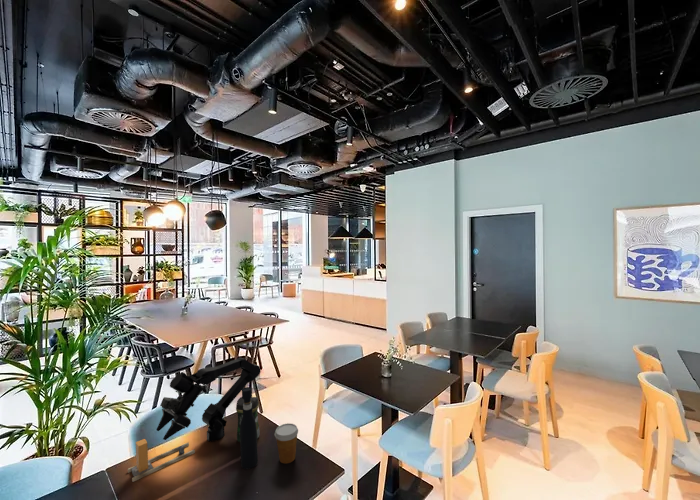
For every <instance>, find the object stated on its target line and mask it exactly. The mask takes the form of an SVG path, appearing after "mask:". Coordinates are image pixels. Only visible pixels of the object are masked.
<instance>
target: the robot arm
mask: <svg viewBox="0 0 700 500" xmlns="http://www.w3.org/2000/svg"><path fill="white" fill-rule="evenodd" d="M238 369H241V373H240V376H239V378H237V380H236V381H234V383H233V384H232V385H231V387H230V388H229V389H228V390H227V391H226V392H225V394H224V395H223V396H222V397H221V398H220V399H219V400H218V402H216V403H212V402H211V403H210V404H209V405H208V406H207V407H206V408H205V409H204V410H203V411H204V412H203V413H202V415H201V420H202V422H203V424H205V425H207V431H206V440H207V441H208V442H215V441H218V440H220V439H222V438H223V437H224V436H225V427H226V426H227V423H228V421H227V420H225V419H224V416H225V414H226V411H227V409H228V407H229V406H231V404H232V402H233V401H234V400H235V399H236V398H237V397H238V396H239V395H240V393H242V389H243V388H246V386H247V385H248V384H249V383H251V382H252V381H255V379H257V378H258V377H259V375H261V366H260V365H257V364H255V363H251V362H250V361H248V360H247V359H245V358H242V357H237V358H235V359H233V360H230V361H227V362H225V363H222V364H219V365H217V366H213V367H211V366H210V367H205V368H204V367H203V368H199V369H197V370H196V371H195V372H194V373H192V374H190V375H188V374H187V373H185V372H183V371H181V372H180V373H179V374H177V375H176V376H175V377H173V378H171V381H170V383H169V387H170V388H171V389H172V390H174V391H176V392H178V393H180V394H182V395H178V396H177V398H174V397H165V396H164V397H162V399H161V402H160V407H161V410H162V415H161V418H160V421H159V423H158V426H157V428H156V431H157V432H159V431H160V430H162V429H163V428H164V427H166V425H168V424H169V423H171V424H170V426H169V428H168V429H167V431H166V432H165V434H164V436H163V438H162V440H164V441H166V440H168V439H169V438H170V437H172V436H173V435H176V433H178V432H180V431H181V430H183V429H184V430H185V429H186V428H187V429H188V428H189V427H190V425H191V424H192V422H191V421H192V420H191V418H189V417H188V416H187V415H188V413H187V412H188V411H189V409H190V408H191V407H192V408H193V407H194V406H195V404H194V403H195V401H196V400H197V398H199V396H200V394H201V393H204V394H206V393H207V385H210V384H211V383H213V382H214V381H216V380H217V379H218V378H219V377H220V376H223V375H225V374H226V375H227V374H228V373H231V372H233V371H236V370H238Z"/></svg>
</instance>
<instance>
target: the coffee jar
mask: <svg viewBox="0 0 700 500" xmlns="http://www.w3.org/2000/svg"><path fill="white" fill-rule="evenodd" d="M250 399H251V404H252V409H253V416H254V418H255V421H256V426H257V440H258V438H259V437H260V424H259V417H258V415H259V414H258V413H259V411H258V410H259V407H260V405H259V404H260V403H259V398H258V396H252V397H251V398H250ZM243 404H244V399H242V396H240V397H239V398H238V400H237V402H236V404H235V405H236V407H235V411H236V414H237V430H236V431H237V432H236V441H237V442H238V443H240V425H241V421H242V417H243Z"/></svg>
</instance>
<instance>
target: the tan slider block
mask: <svg viewBox="0 0 700 500" xmlns="http://www.w3.org/2000/svg"><path fill="white" fill-rule="evenodd" d="M135 453H136V454H135V456H136V457H135V460H136V463H135V466H136V465H137V466H136V467H134V468H132V469H131V473H132V476H133V477H135V476H137V475H140V474H142V473H144V472H146V471H148V470H150V469H153V468H154V467H153V464H152V462H151V463H150V461H148V460H149V449H148V442H147V440H146V439H145V438H143V439H141V440H137V441H135Z"/></svg>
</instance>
